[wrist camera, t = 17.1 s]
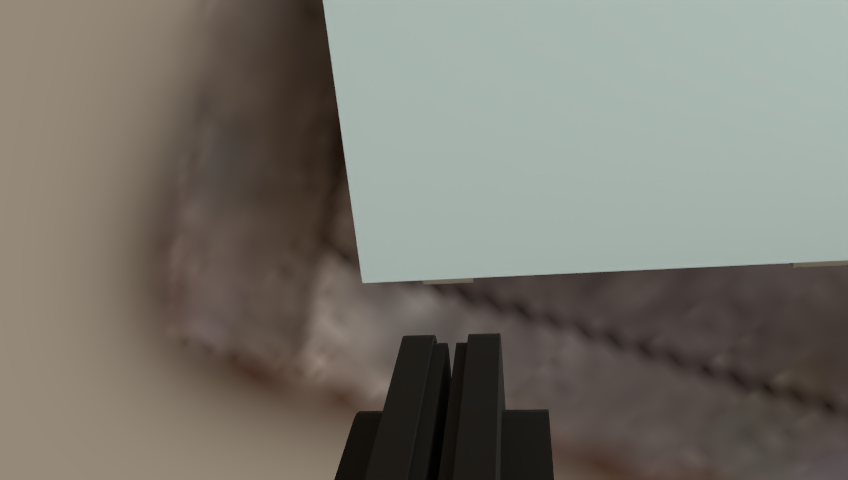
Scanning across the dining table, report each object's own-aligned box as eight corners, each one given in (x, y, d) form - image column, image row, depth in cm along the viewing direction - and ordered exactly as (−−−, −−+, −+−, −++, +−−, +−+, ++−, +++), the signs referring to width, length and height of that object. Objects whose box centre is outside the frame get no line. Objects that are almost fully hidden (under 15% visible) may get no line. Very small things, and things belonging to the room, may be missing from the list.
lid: (991, -140, 20) (1019, -145, 19) (923, 242, 25) (943, 255, 24) (321, -67, 23) (313, -68, 22) (367, 269, 27) (362, 283, 26)
